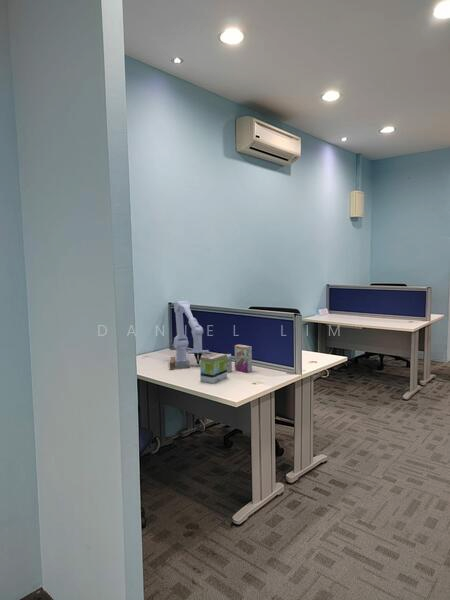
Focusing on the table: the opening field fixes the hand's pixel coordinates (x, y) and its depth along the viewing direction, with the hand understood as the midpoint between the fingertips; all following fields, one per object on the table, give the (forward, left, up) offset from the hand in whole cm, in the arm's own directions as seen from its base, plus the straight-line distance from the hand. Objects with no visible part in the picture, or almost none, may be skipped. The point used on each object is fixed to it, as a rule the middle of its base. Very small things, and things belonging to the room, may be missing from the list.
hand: (198, 363), depth 268 cm
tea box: (+34, +9, -2) cm, 35 cm away
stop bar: (0, -17, -1) cm, 18 cm away
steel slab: (+1, -11, -2) cm, 11 cm away
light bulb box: (+16, +16, -2) cm, 23 cm away
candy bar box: (+17, +29, -2) cm, 34 cm away
